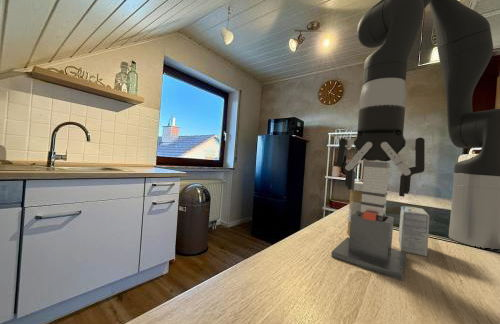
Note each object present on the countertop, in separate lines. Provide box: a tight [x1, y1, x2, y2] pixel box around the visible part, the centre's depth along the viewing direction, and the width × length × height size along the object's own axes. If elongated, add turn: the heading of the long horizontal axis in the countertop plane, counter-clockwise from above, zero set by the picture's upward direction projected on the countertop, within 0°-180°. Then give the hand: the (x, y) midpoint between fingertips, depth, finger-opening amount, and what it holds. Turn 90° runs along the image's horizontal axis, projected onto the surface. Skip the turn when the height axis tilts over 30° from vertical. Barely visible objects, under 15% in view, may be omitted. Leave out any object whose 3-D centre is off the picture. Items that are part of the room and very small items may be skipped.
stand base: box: [331, 211, 408, 281], centre depth 41 cm, size 11×11×9 cm
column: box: [360, 160, 391, 221], centre depth 41 cm, size 4×4×17 cm
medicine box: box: [398, 205, 430, 257], centre depth 47 cm, size 8×4×9 cm, turn 148°
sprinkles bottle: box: [346, 180, 363, 236], centre depth 53 cm, size 5×5×14 cm
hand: (374, 192), depth 41 cm, fingers open, 8 cm apart
